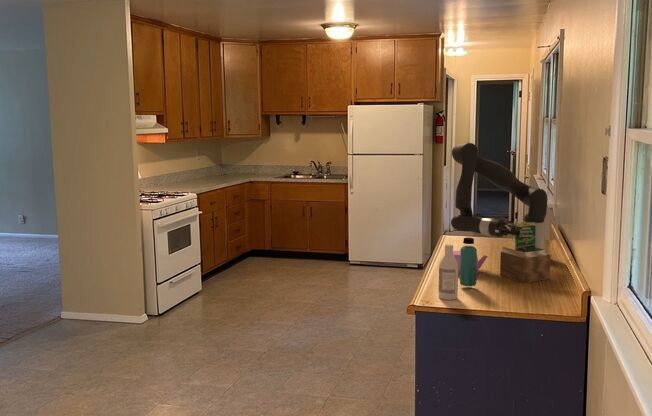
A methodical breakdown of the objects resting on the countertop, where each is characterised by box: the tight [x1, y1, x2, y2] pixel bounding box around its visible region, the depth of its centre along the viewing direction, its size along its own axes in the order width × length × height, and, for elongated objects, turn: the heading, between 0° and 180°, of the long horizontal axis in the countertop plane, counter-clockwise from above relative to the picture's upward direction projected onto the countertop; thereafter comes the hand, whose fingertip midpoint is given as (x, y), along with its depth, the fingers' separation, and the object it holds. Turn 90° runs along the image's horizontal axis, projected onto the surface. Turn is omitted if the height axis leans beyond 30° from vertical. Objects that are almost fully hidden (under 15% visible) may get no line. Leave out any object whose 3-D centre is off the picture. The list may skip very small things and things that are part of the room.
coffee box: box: [514, 221, 536, 252], centre depth 264 cm, size 8×3×13 cm, turn 80°
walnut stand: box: [499, 246, 552, 284], centre depth 265 cm, size 14×14×12 cm
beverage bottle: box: [459, 236, 478, 287], centre depth 248 cm, size 6×7×20 cm
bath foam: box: [438, 243, 459, 301], centre depth 234 cm, size 7×7×20 cm
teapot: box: [453, 250, 488, 276], centre depth 274 cm, size 18×10×10 cm, turn 80°
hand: (525, 232), depth 264 cm, fingers open, 8 cm apart
